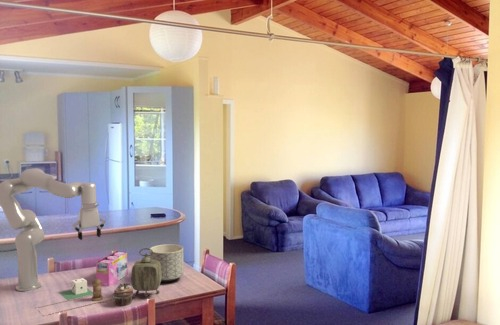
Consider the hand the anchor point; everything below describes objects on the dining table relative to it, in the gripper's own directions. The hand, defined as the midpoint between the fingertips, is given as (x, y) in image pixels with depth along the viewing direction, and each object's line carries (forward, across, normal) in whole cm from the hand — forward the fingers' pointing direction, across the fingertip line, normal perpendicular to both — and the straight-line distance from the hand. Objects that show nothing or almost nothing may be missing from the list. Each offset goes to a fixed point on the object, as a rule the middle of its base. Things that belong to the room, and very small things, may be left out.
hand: (89, 237), depth 251 cm
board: (+28, +14, +15) cm, 35 cm away
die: (+28, +6, 0) cm, 29 cm away
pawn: (+28, +3, +16) cm, 33 cm away
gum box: (+29, -16, -8) cm, 34 cm away
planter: (+28, -40, +11) cm, 50 cm away
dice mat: (+28, +8, +1) cm, 29 cm away
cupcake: (+28, -5, +29) cm, 41 cm away
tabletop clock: (+28, -19, +27) cm, 44 cm away
